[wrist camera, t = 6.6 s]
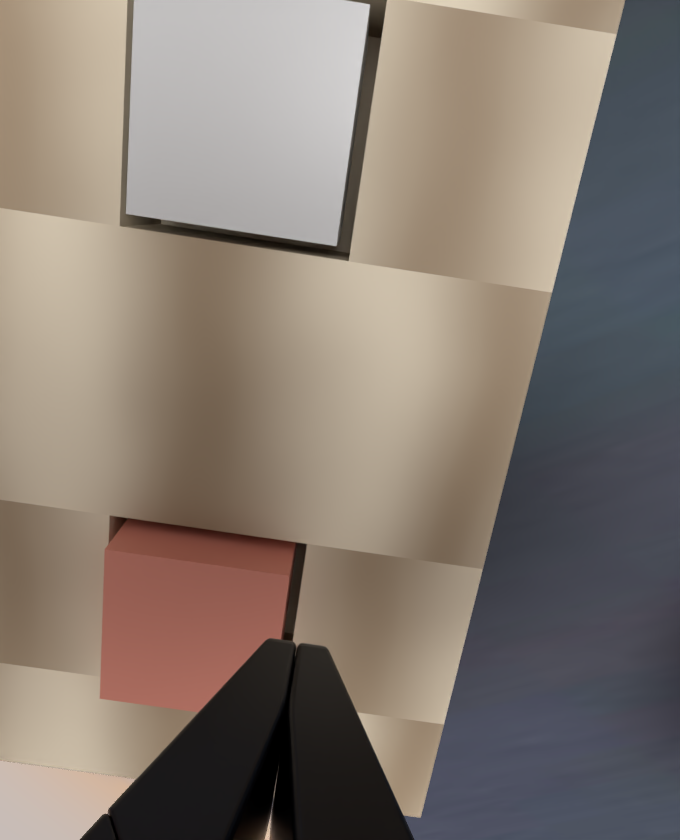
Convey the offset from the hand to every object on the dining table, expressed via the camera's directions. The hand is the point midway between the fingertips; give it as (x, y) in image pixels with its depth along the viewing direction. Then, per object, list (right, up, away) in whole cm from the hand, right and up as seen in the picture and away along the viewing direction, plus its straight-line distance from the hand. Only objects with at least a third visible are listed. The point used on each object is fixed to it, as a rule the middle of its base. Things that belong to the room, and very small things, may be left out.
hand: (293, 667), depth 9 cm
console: (-2, +5, +10) cm, 11 cm away
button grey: (-1, +11, +7) cm, 13 cm away
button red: (-3, -1, +10) cm, 11 cm away
